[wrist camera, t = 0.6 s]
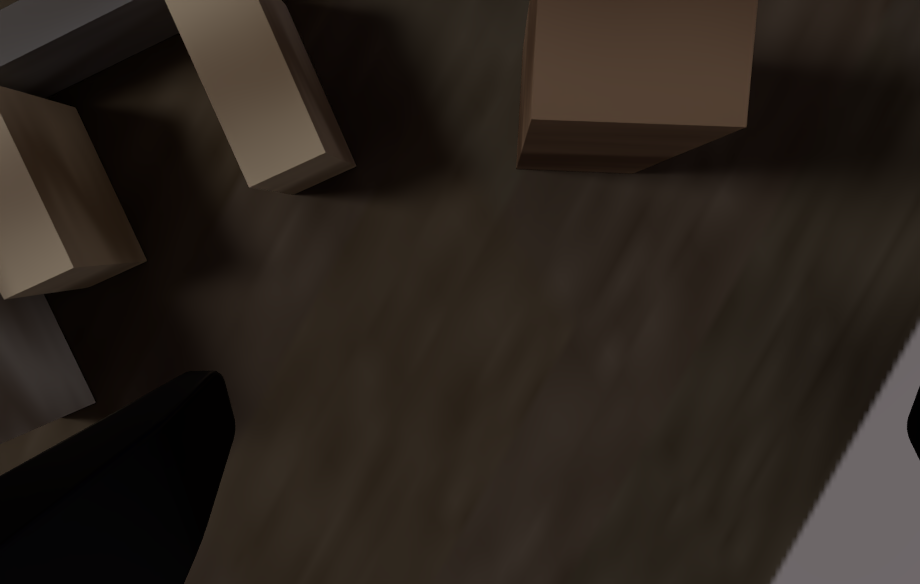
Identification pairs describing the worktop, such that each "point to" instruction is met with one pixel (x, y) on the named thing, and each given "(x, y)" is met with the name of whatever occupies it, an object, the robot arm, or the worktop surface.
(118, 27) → the stepped pillar cluster
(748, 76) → the plain brown block
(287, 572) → the worktop surface
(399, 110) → the worktop surface
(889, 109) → the worktop surface
